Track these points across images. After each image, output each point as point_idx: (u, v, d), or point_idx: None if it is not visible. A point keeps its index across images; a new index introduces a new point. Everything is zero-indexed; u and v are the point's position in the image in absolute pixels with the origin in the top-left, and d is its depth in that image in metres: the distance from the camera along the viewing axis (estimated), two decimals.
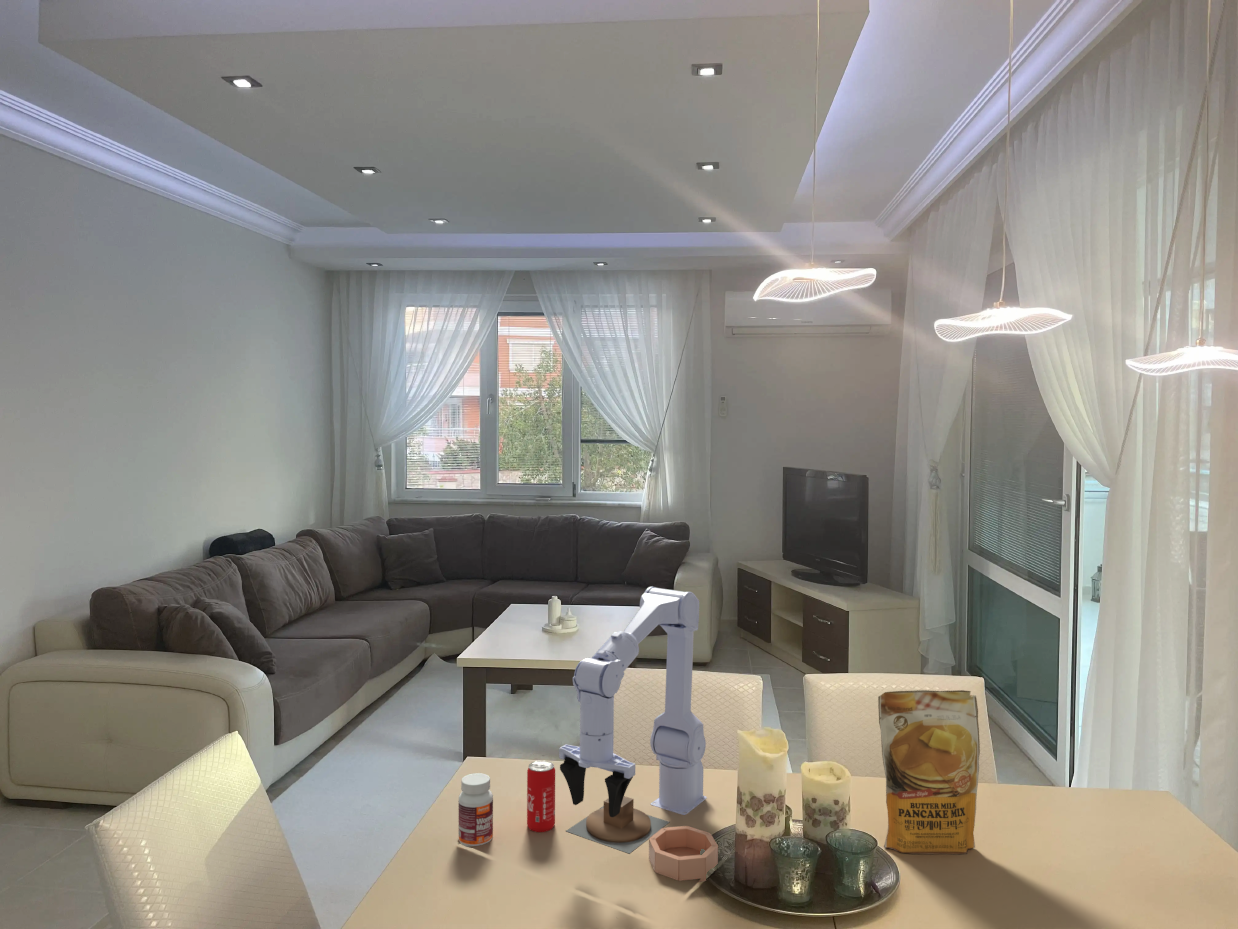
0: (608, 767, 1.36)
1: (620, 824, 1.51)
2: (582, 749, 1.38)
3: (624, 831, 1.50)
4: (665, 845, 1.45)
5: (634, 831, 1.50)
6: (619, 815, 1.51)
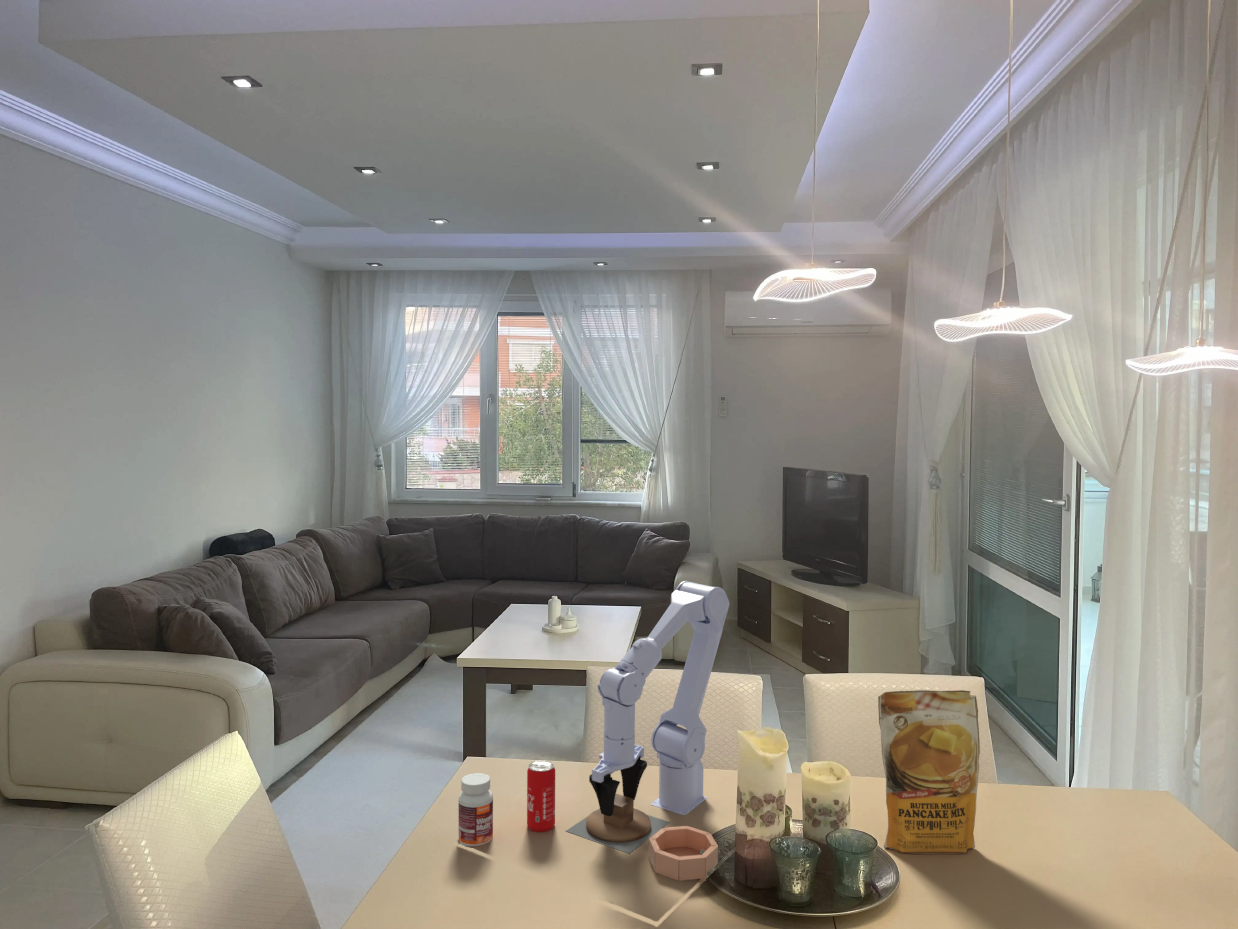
0: None
1: (620, 824, 1.51)
2: None
3: (624, 831, 1.50)
4: (665, 845, 1.45)
5: (634, 831, 1.50)
6: (619, 815, 1.51)
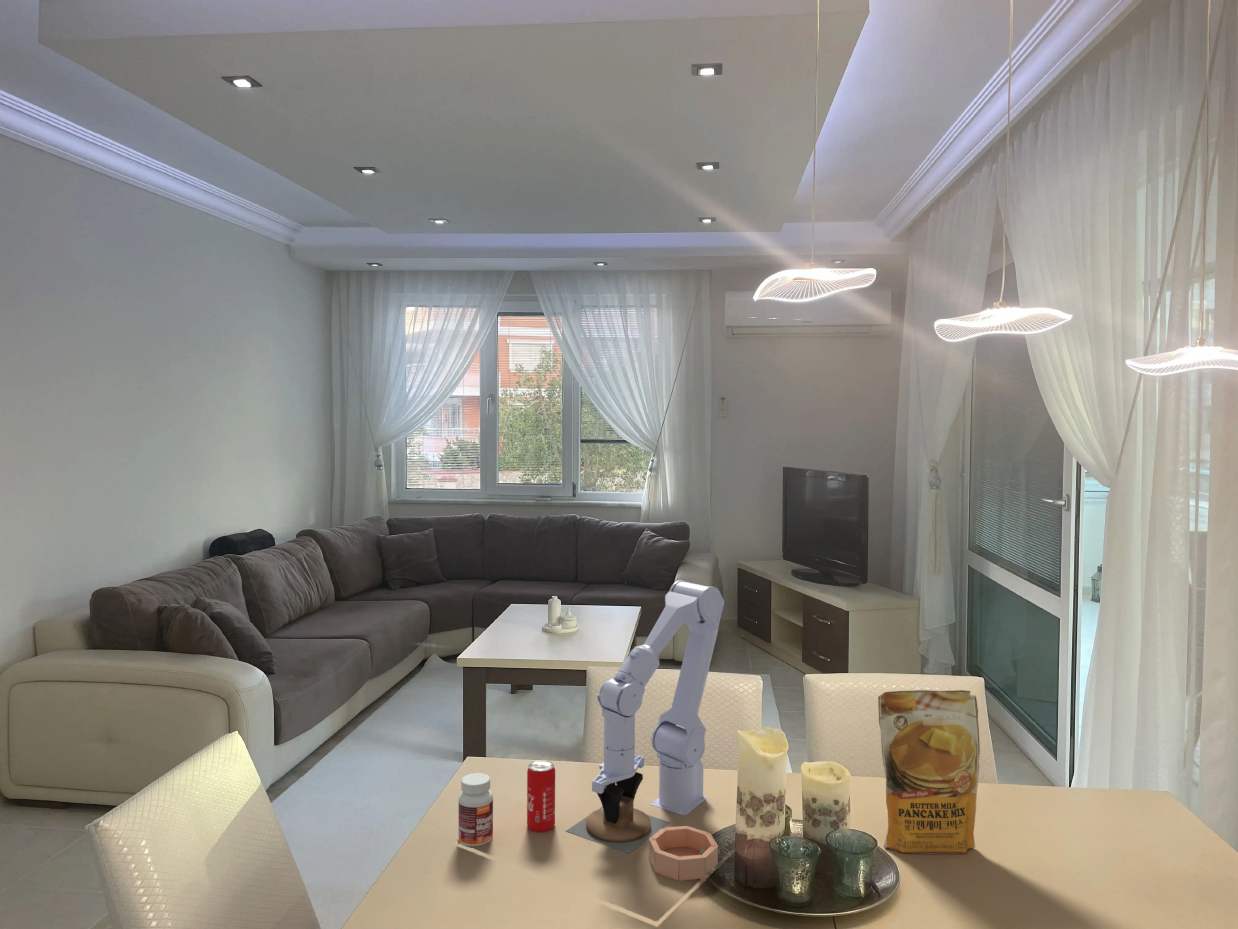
0: None
1: (620, 824, 1.51)
2: None
3: (624, 831, 1.50)
4: (665, 845, 1.45)
5: (634, 831, 1.50)
6: (619, 815, 1.51)
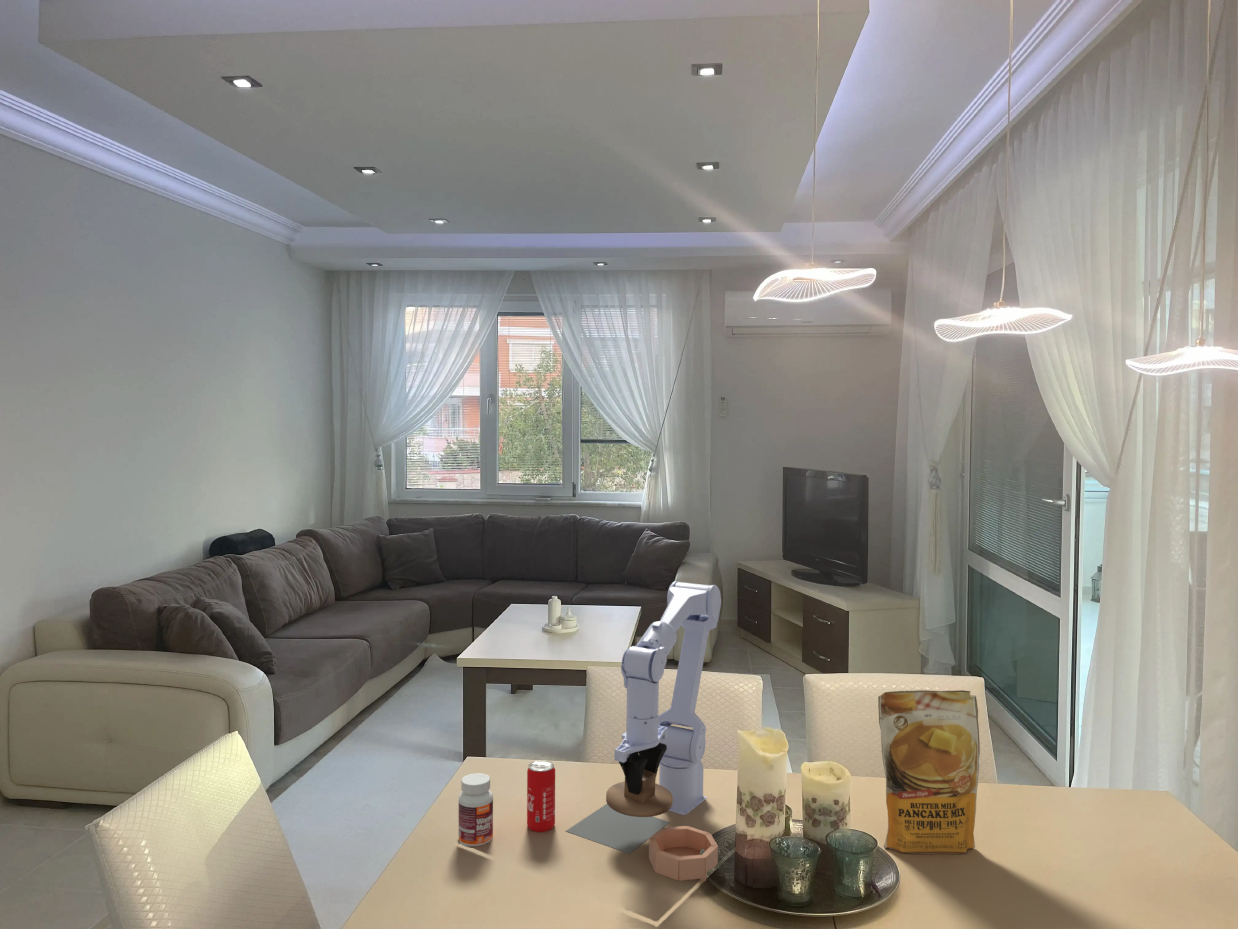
0: None
1: (641, 798, 1.46)
2: None
3: (645, 806, 1.45)
4: (665, 845, 1.45)
5: (656, 806, 1.45)
6: (641, 789, 1.46)
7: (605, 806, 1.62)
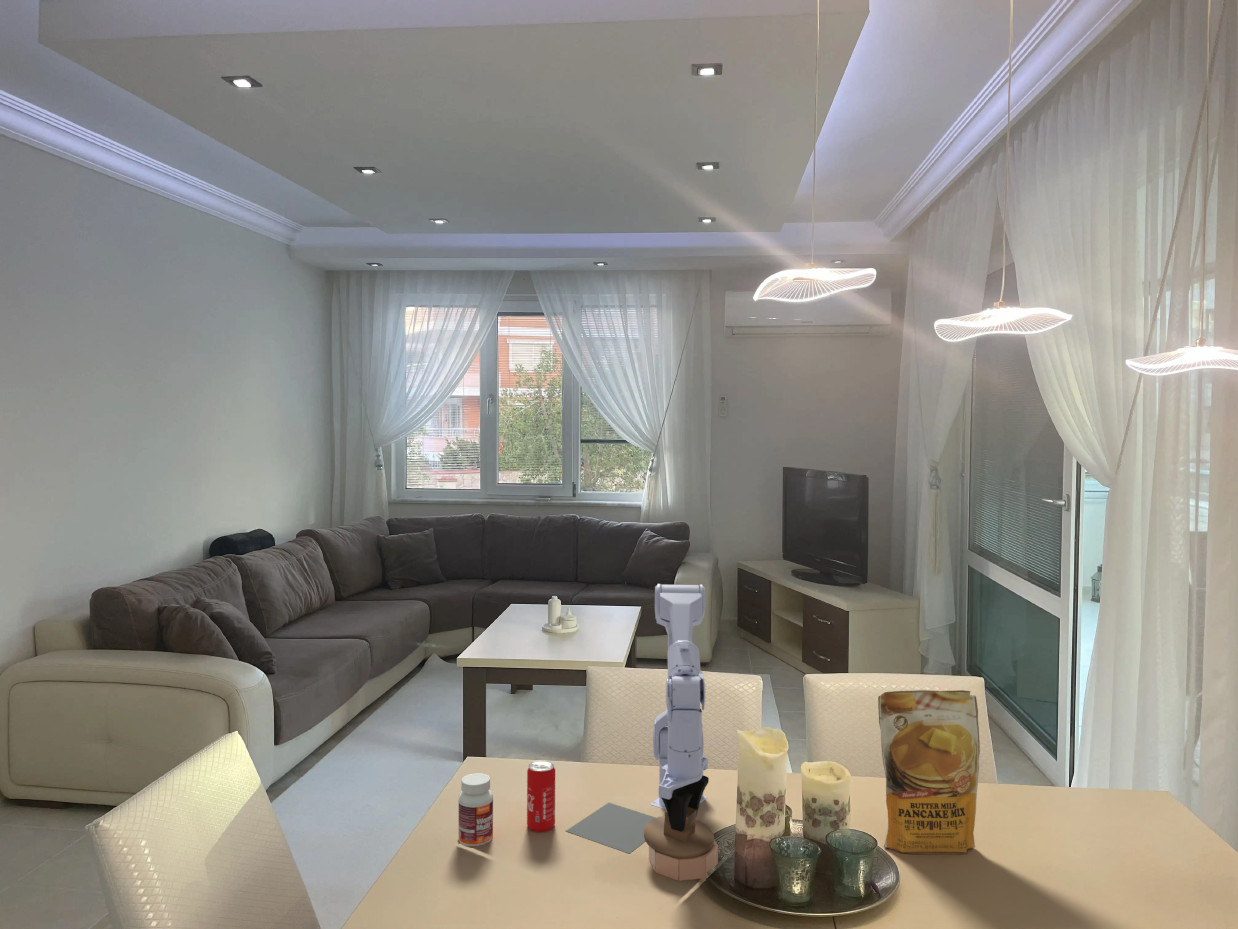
0: None
1: (683, 837, 1.39)
2: None
3: (688, 845, 1.38)
4: None
5: (699, 845, 1.38)
6: None
7: (605, 806, 1.62)
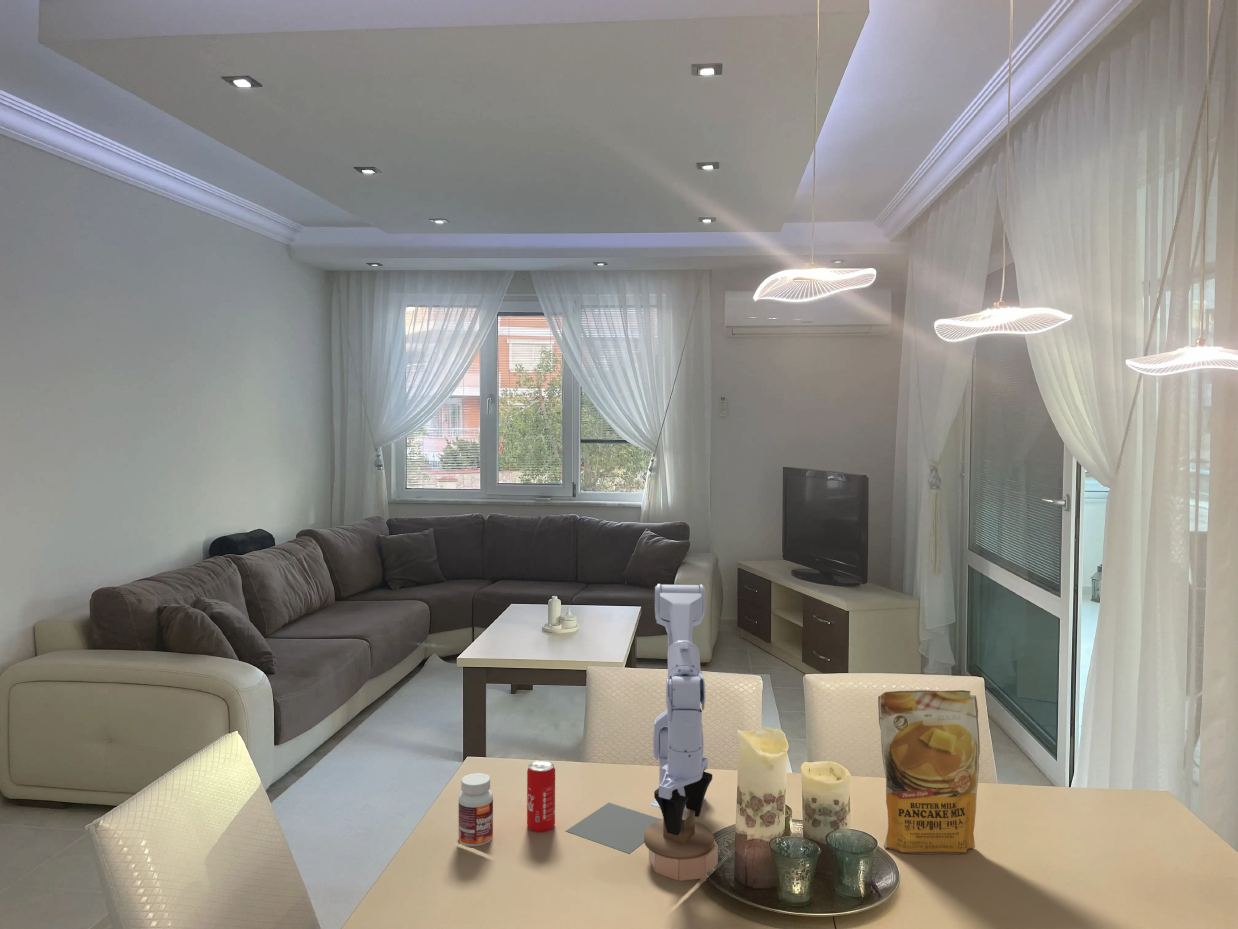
0: None
1: (682, 839, 1.39)
2: None
3: (688, 847, 1.38)
4: None
5: (698, 846, 1.38)
6: (681, 829, 1.39)
7: (605, 806, 1.62)
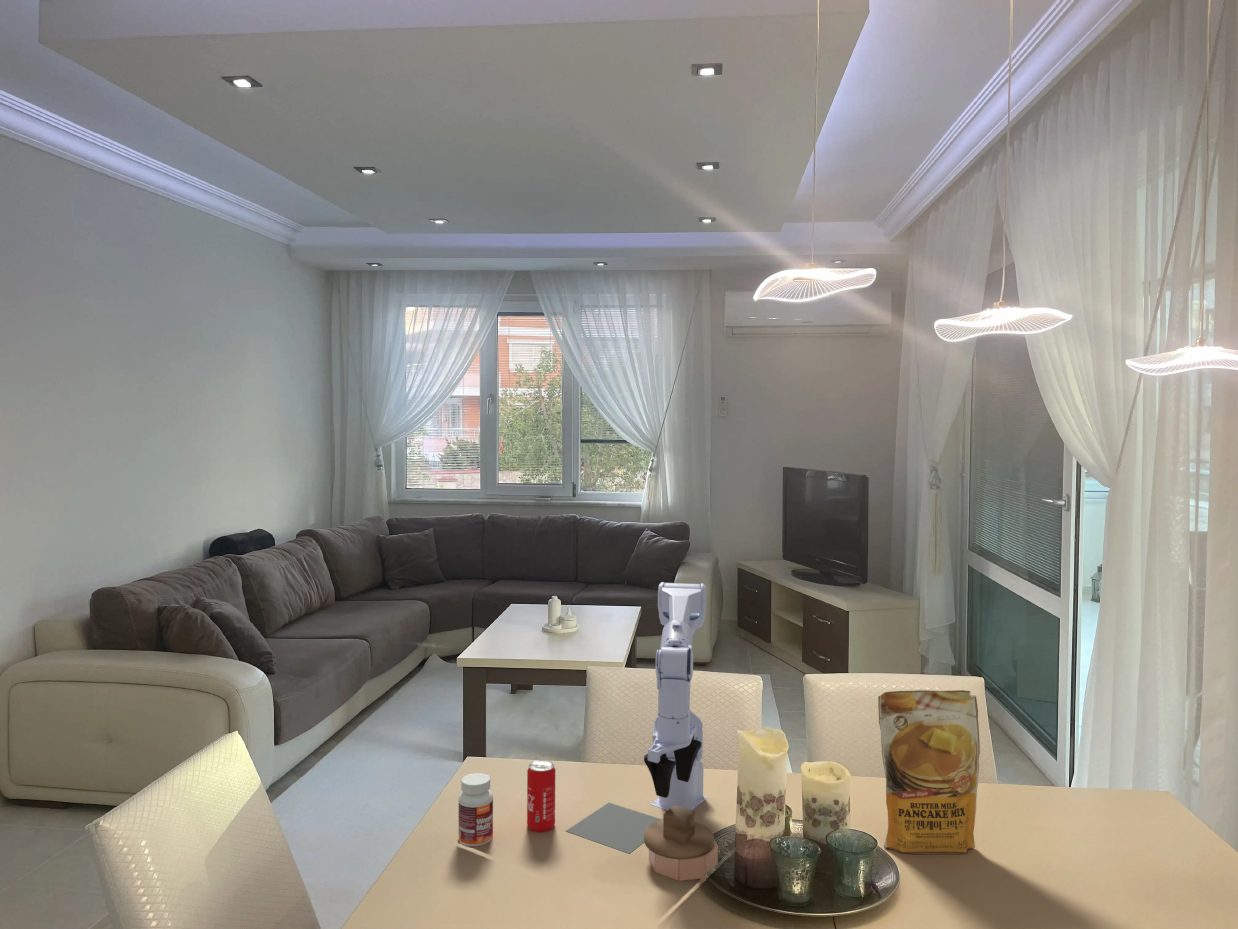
0: None
1: (682, 839, 1.39)
2: None
3: (688, 847, 1.38)
4: None
5: (698, 846, 1.38)
6: (681, 829, 1.39)
7: (605, 806, 1.62)
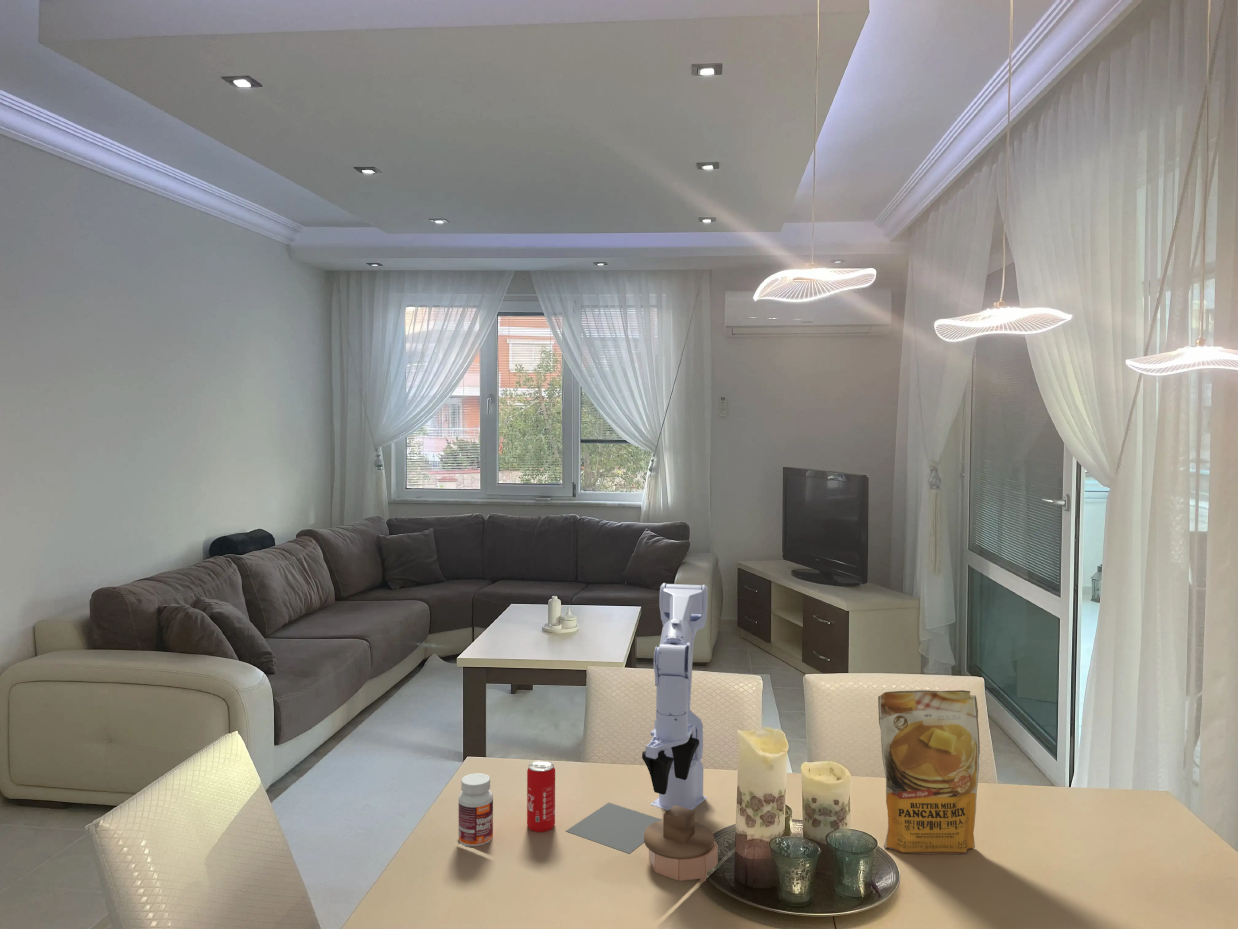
0: None
1: (682, 839, 1.39)
2: None
3: (688, 847, 1.38)
4: None
5: (698, 846, 1.38)
6: (681, 829, 1.39)
7: (605, 806, 1.62)
